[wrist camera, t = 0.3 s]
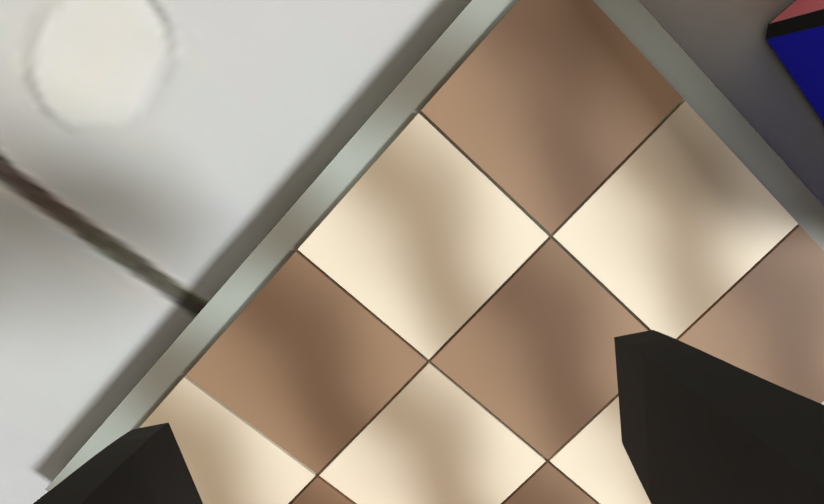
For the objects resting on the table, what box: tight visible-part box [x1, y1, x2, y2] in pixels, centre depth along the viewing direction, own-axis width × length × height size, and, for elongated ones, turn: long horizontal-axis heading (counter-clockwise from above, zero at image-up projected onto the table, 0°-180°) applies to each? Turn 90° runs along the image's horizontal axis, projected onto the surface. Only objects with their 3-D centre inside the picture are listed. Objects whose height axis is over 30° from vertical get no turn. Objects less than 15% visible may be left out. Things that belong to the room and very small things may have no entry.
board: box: [46, 0, 824, 504], centre depth 20 cm, size 26×20×1 cm
